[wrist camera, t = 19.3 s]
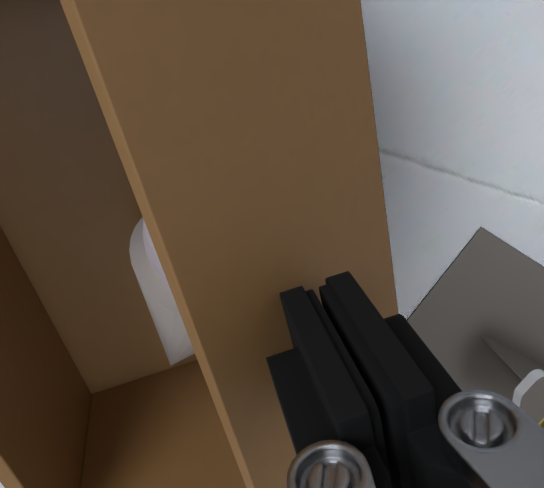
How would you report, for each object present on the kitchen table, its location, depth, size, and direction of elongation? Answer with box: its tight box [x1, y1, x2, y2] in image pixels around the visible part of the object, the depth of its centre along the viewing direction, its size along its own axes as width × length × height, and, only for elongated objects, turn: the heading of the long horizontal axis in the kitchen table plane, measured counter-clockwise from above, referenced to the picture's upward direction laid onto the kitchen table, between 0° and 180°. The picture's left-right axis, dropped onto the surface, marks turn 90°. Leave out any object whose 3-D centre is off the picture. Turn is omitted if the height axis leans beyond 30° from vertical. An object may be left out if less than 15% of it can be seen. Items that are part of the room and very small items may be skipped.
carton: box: [0, 0, 246, 488], centre depth 18 cm, size 18×13×8 cm
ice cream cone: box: [129, 217, 195, 366], centre depth 20 cm, size 6×6×15 cm
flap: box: [60, 0, 398, 488], centre depth 13 cm, size 18×6×1 cm
